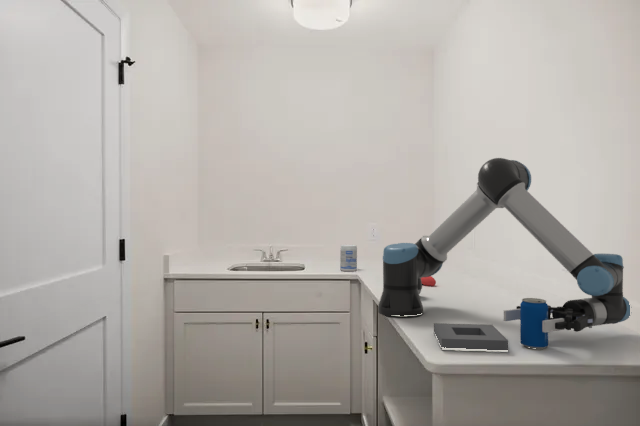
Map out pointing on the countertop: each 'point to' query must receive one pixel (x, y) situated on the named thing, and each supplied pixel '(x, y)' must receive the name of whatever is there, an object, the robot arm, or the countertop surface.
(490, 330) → the socket plate
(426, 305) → the countertop surface
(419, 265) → the robot arm
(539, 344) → the beverage can
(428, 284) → the stress ball
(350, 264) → the supplement tub
